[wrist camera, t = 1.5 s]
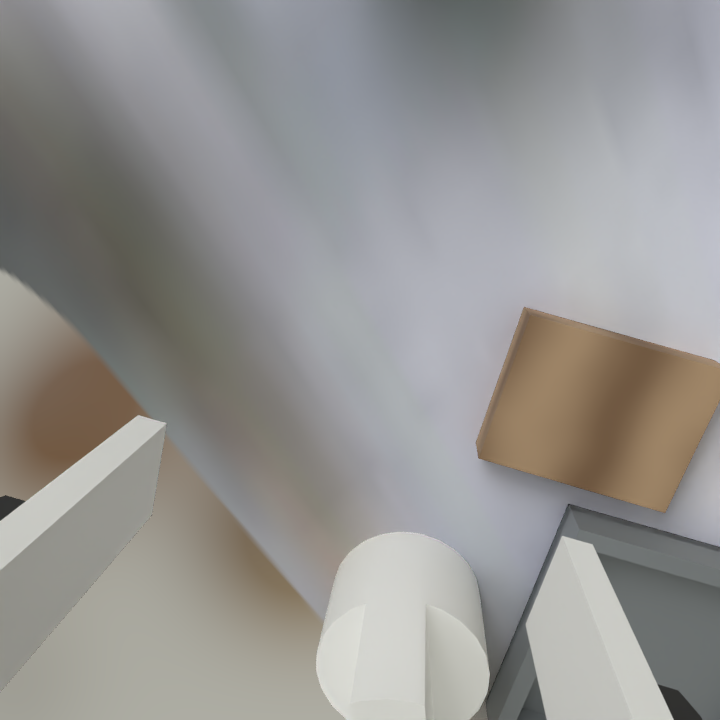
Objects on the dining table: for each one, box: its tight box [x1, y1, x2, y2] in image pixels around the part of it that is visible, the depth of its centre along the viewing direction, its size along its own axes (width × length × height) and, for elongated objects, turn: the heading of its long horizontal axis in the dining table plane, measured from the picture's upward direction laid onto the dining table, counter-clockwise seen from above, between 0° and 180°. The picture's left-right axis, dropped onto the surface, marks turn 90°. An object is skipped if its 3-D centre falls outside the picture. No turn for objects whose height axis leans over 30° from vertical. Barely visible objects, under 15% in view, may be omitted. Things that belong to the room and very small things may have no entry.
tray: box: [486, 504, 720, 720], centre depth 34 cm, size 15×15×3 cm
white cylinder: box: [316, 532, 490, 720], centre depth 30 cm, size 9×9×12 cm
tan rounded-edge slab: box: [476, 307, 720, 513], centre depth 30 cm, size 10×8×2 cm
